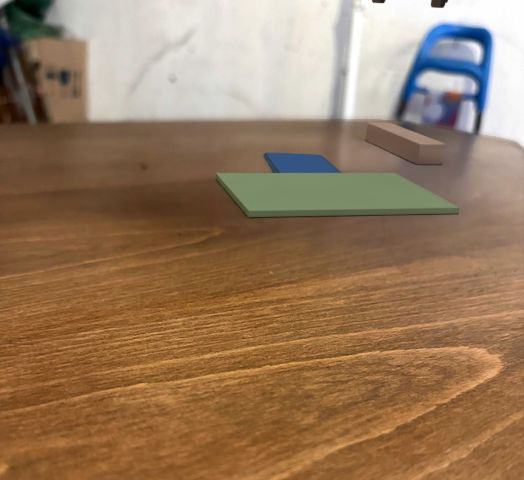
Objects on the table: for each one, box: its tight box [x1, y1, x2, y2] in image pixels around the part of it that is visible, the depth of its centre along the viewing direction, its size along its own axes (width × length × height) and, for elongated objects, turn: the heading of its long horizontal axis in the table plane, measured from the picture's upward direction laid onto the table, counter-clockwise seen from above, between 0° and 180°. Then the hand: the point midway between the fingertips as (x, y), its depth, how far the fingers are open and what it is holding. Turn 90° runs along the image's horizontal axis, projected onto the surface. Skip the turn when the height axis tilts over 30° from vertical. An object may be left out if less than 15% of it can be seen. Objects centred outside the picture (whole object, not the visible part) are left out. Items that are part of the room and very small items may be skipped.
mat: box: [215, 172, 460, 218], centre depth 65 cm, size 20×14×1 cm
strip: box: [365, 121, 446, 166], centre depth 88 cm, size 16×4×2 cm, turn 15°
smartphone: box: [263, 152, 342, 173], centre depth 75 cm, size 7×1×15 cm
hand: (408, 5), depth 83 cm, fingers open, 8 cm apart
